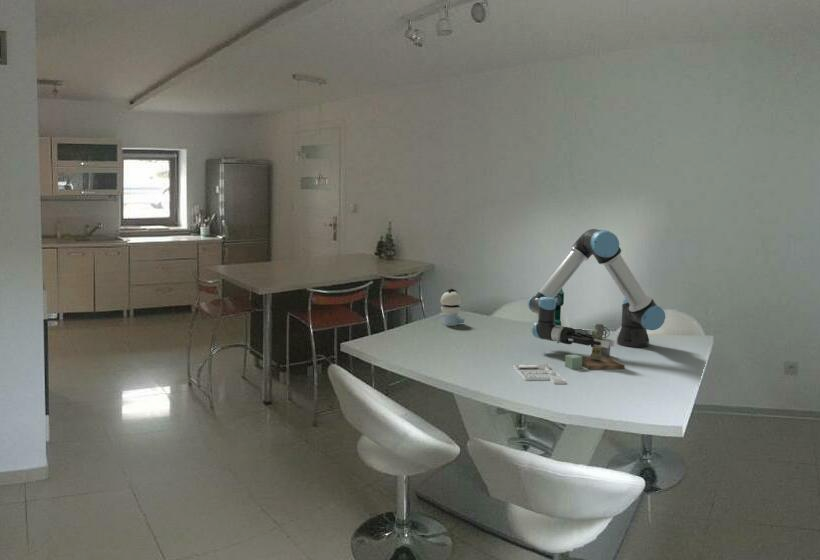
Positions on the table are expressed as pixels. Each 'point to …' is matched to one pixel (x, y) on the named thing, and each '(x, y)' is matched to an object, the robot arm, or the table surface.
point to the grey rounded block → (605, 351)
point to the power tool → (558, 306)
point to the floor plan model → (553, 379)
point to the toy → (451, 308)
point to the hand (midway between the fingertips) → (610, 344)
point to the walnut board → (601, 363)
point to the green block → (573, 361)
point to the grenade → (598, 335)
